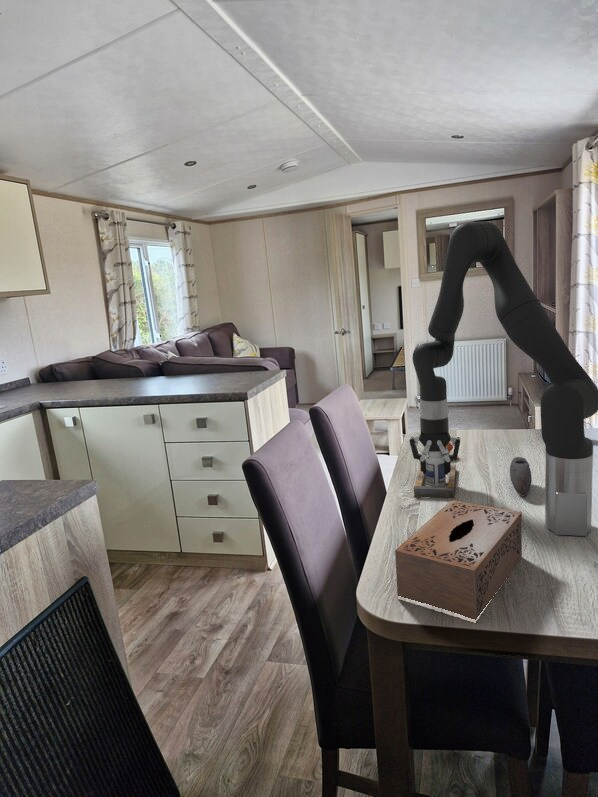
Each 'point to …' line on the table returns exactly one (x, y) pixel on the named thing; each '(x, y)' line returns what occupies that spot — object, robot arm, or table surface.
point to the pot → (449, 447)
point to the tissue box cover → (460, 557)
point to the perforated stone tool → (520, 475)
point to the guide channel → (435, 487)
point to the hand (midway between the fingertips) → (435, 473)
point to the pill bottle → (435, 469)
